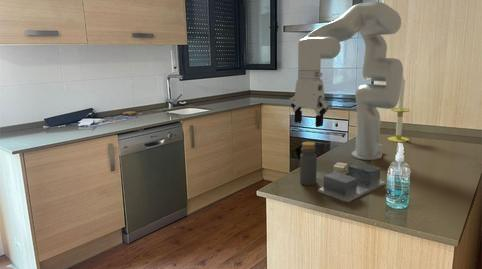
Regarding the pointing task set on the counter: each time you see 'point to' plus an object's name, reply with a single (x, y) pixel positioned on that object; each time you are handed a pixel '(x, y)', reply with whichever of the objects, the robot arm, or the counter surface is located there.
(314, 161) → the bottle
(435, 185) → the counter surface
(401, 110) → the candle
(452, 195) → the counter surface
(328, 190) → the board
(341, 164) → the loose block
